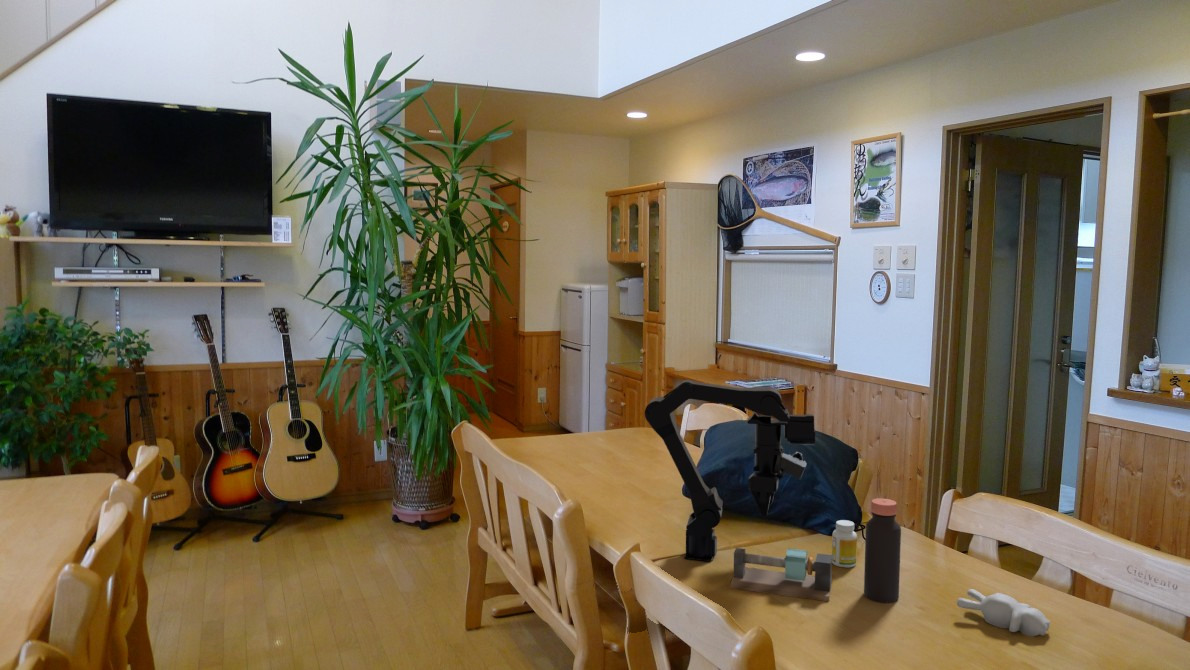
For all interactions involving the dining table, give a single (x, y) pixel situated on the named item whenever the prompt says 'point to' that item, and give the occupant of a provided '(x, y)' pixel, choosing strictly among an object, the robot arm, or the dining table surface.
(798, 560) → the sleeve
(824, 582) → the rod stand
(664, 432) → the robot arm
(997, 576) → the dining table surface
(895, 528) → the water bottle
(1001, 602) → the bunny figurine
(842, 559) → the supplement bottle
